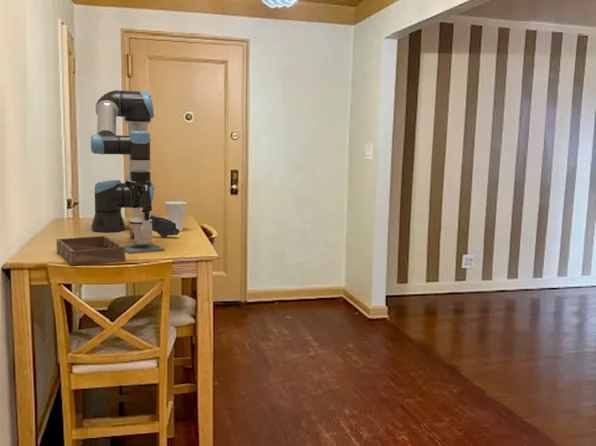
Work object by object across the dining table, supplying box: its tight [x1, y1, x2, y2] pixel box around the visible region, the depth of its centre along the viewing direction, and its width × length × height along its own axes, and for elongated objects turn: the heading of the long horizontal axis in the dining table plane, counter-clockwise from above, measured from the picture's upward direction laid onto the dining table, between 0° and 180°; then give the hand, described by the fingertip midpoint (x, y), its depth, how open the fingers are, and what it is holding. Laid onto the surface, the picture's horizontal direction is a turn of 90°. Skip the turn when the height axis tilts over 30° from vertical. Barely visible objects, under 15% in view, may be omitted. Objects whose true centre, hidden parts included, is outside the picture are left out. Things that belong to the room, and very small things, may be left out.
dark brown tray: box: [56, 235, 126, 267], centre depth 204 cm, size 26×18×5 cm
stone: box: [150, 214, 181, 238], centre depth 247 cm, size 14×6×10 cm, turn 102°
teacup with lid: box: [128, 213, 153, 245], centre depth 220 cm, size 12×9×12 cm
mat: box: [123, 242, 166, 255], centre depth 221 cm, size 14×14×1 cm
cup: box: [164, 200, 188, 232], centre depth 267 cm, size 10×10×14 cm
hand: (141, 226), depth 220 cm, fingers closed on teacup with lid, 11 cm apart
